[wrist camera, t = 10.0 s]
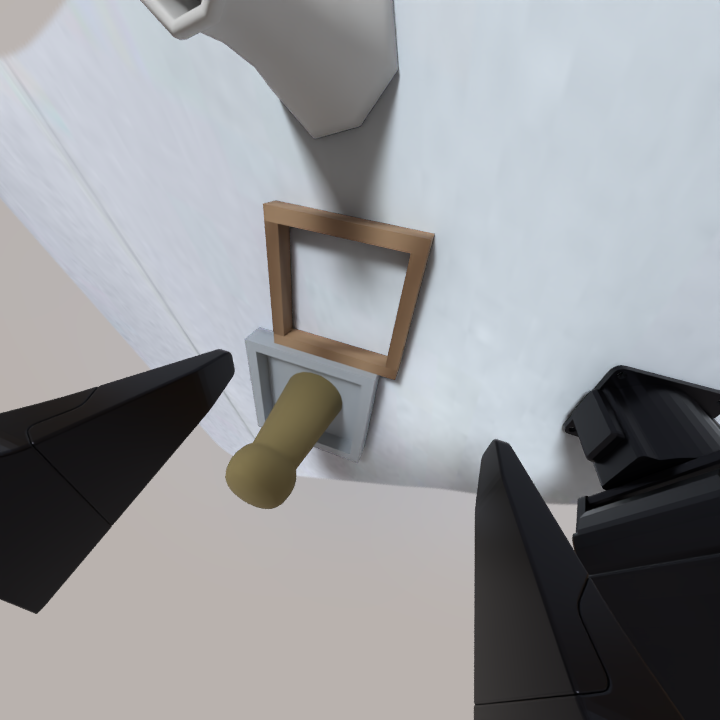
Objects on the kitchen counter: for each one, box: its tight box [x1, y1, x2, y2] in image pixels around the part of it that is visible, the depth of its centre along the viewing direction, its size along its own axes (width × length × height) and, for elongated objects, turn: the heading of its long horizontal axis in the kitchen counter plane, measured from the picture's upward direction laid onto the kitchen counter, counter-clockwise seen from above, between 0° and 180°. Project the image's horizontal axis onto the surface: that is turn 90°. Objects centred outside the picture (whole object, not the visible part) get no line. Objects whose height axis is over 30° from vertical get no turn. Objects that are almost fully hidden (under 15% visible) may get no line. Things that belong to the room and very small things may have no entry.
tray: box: [245, 327, 380, 463], centre depth 29 cm, size 12×12×2 cm
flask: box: [140, 0, 398, 139], centre depth 11 cm, size 7×7×10 cm
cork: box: [225, 372, 343, 509], centre depth 25 cm, size 6×6×11 cm
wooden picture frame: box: [263, 201, 434, 380], centre depth 22 cm, size 11×11×2 cm
